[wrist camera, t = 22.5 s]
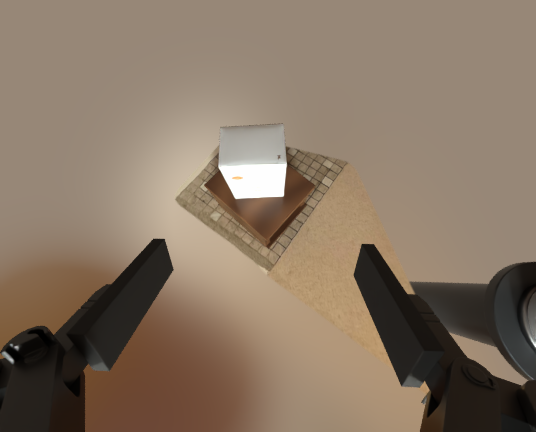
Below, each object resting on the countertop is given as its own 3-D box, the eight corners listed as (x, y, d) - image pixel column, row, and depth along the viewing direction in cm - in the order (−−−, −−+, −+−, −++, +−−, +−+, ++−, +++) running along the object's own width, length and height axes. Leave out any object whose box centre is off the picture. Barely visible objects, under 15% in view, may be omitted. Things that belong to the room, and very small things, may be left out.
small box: (282, 166, 35) (285, 122, 25) (283, 197, 33) (288, 163, 23) (234, 168, 35) (219, 125, 25) (234, 199, 34) (217, 166, 24)
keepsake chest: (306, 206, 44) (315, 185, 34) (268, 249, 41) (266, 240, 32) (257, 167, 47) (252, 137, 37) (219, 205, 44) (203, 184, 35)
